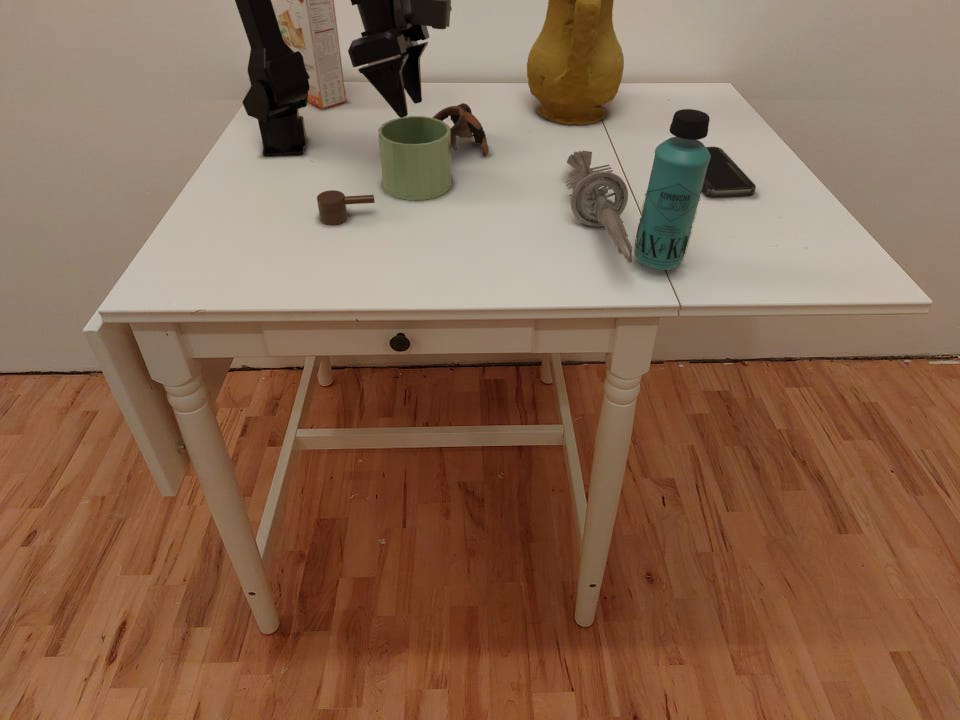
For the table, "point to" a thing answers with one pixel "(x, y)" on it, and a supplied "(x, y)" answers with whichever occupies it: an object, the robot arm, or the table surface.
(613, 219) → the spaceship
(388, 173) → the green round container
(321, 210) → the scoop
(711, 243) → the table surface
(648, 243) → the beverage bottle
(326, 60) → the cracker box
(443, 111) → the gnarled wooden root
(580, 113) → the pitcher
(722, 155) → the phone
